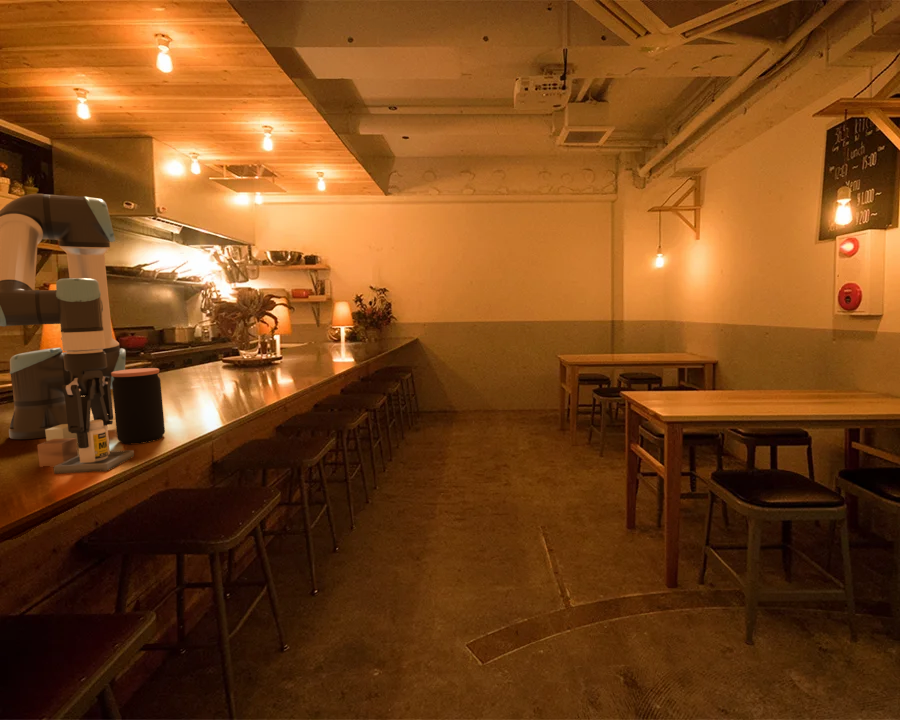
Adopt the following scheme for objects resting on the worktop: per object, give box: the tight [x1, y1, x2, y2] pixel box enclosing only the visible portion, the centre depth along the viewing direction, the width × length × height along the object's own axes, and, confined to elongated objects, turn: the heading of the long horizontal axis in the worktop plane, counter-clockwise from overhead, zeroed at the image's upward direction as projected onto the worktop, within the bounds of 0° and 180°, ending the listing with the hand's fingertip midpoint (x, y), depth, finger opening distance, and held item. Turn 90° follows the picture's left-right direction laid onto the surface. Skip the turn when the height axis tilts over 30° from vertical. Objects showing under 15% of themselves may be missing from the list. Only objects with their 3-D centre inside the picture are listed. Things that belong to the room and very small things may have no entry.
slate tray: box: [53, 449, 135, 475], centre depth 114 cm, size 11×11×2 cm
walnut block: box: [36, 438, 79, 468], centre depth 116 cm, size 5×5×5 cm
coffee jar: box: [111, 367, 166, 445], centre depth 135 cm, size 11×11×18 cm
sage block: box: [45, 424, 78, 442], centre depth 132 cm, size 6×4×5 cm, turn 5°
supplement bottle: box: [89, 419, 108, 461], centre depth 114 cm, size 5×5×8 cm
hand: (95, 457), depth 114 cm, fingers closed on supplement bottle, 5 cm apart
